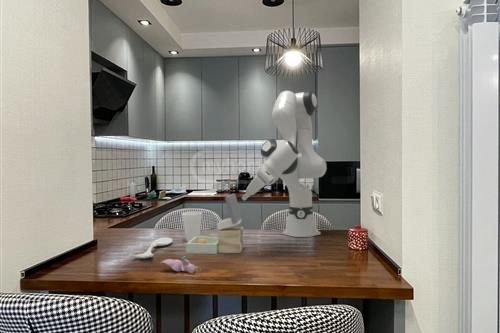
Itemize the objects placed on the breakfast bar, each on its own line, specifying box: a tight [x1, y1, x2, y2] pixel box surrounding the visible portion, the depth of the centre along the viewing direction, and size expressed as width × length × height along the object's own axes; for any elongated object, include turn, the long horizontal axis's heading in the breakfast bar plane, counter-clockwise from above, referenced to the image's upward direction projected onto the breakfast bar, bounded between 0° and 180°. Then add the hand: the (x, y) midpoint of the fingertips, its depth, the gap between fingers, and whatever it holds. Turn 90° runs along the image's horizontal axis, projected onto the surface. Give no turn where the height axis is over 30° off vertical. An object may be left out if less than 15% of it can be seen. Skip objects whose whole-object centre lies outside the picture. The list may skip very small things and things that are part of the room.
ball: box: [197, 239, 206, 244], centre depth 148 cm, size 4×4×4 cm
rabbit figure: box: [159, 255, 202, 275], centre depth 120 cm, size 6×6×15 cm
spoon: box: [129, 236, 173, 259], centre depth 147 cm, size 9×32×4 cm, turn 176°
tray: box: [185, 236, 218, 255], centre depth 148 cm, size 13×13×4 cm
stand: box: [217, 226, 244, 254], centre depth 146 cm, size 9×9×9 cm
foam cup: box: [181, 211, 203, 242], centre depth 166 cm, size 10×9×13 cm
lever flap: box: [216, 193, 243, 231], centre depth 146 cm, size 9×14×12 cm, turn 171°
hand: (245, 197), depth 145 cm, fingers open, 8 cm apart
